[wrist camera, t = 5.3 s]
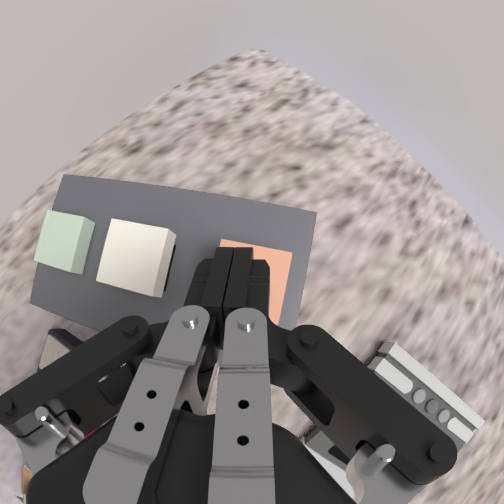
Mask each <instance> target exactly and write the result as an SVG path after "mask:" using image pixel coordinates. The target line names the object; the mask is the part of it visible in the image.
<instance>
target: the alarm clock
mask: <svg viewBox="0 0 504 504" xmlns="http://www.w3.org/2000/svg"><path fill="white" fill-rule="evenodd" d="M378 352H379V353H380V354H379V355H378V357H376V356H375V357H374V359H373V360H372V361H371V363H370V364H369V365H368V368H369V369H370V370H371V371H372V372H373V373H375V374H376V375H377V376H378V377H379V378H380V379H382V380H383V381H384V382H385V383H386V384H388V385H389V386H390V387H391V388H392V389H393V390H395V391H396V392H397V393H398V394H399V395H400V396H402V397H403V398H404V399H405V400H406V401H408V402H409V403H410V404H411V405H412V406H413V407H415V408H416V409H417V410H418V411H419V412H421V413H422V414H423V415H424V416H425V417H426V418H428V419H429V420H430V421H431V422H432V423H434V424H435V425H436V426H437V427H438V428H440V429H441V430H442V431H443V432H444V433H446V434H447V435H448V436H449V437H450V438H451V439H452V440H453V441H454V443H455V445H456V448H457V453H458V452H459V450H460V449H461V448H462V446H463V445H464V444H465V443H467V442H468V441H469V439H470V438H471V436H472V435H473V434H474V432H473V431H474V429H478V430H480V428H481V427H482V425H483V424H484V422H485V421H484V420H483V419H482V418H481V417H480V416H479V415H478V414H476V413H475V412H474V411H473V410H472V409H471V408H470V407H469V406H467V405H466V404H465V403H464V402H463V401H462V400H461V399H460V398H458V397H457V396H456V395H455V394H454V393H453V392H452V391H451V390H449V389H448V388H447V387H446V386H445V385H444V384H443V383H441V382H440V381H439V380H438V379H437V378H436V377H435V376H433V375H432V374H431V373H430V372H429V371H428V370H426V369H425V368H424V367H423V366H422V365H421V364H420V363H418V362H417V361H416V360H415V359H414V358H413V357H411V356H410V355H409V354H408V353H407V352H406V351H404V350H403V349H402V348H401V347H400V346H399V345H397V344H396V343H392V342H384V343H383V344H382V346H381V347H380V348H379V350H378ZM300 441H301V442H302V443H303V444H304V446H305V447H306V448H307V449H308V450H309V451H310V453H311V454H312V455H313V456H314V457H315V458H316V459H317V461H318V462H319V463H320V464H321V465H322V466H323V467H324V468H325V470H326V471H327V472H328V473H329V474H330V475H331V476H332V477H333V478H334V480H335V481H336V482H337V483H338V484H339V485H340V486H341V487H342V488H343V489H344V490H345V491H346V492H347V494H348V495H349V496H350V497H351V498H352V499H353V500H354V498H355V494H354V490H353V488H352V486H351V485H350V484H349V482H348V480H347V478H346V467H347V465H348V463H349V462H350V459H349V458H348V457H347V456H346V455H345V454H344V453H343V452H342V451H341V450H340V449H339V448H338V447H337V446H336V445H335V444H334V443H333V442H332V441H331V440H330V439H329V438H328V437H327V436H326V435H325V434H324V433H323V432H322V431H321V430H320V429H319V428H318V427H317V428H316V429H314V430H313V431H312V432H311V433H310V434H309V435H308V436H307V437H304V436H303V437H302V438H301V439H300ZM425 487H426V486H425ZM425 487H423V488H422V489H421V490H423V489H424V488H425ZM421 490H420V491H421ZM420 491H419V492H420ZM419 492H418V493H419ZM418 493H417V494H418Z"/></svg>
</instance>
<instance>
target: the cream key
mask: <svg viewBox="0 0 504 504" xmlns="http://www.w3.org/2000/svg"><path fill="white" fill-rule="evenodd" d="M175 239H176V234H174V233H173V232H172V231H171V230H169V229H167V228H161V227H156V226H151V225H145V224H140V223H135V222H129V221H124V220H119V219H113V218H112V219H111V223H110V226H109V230H108V233H107V237H106V241H105V245H104V249H103V253H102V257H101V261H100V265H99V269H98V274H97V278H96V281H98V282H102V283H105V284H109V285H112V286H116V287H119V288H123V289H127V290H130V291H134V292H138V293H141V294H145V295H149V296H153V297H160V298H162V294H163V290H164V285H166V286H167V283H168V279H169V274H170V270H171V266H172V261H173V257H174V252H172V251H173V247H174V243H175Z"/></svg>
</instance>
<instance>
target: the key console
mask: <svg viewBox="0 0 504 504" xmlns="http://www.w3.org/2000/svg"><path fill="white" fill-rule="evenodd" d="M52 211H56V212H61V213H67V214H72V215H77V216H82V217H86V218H88V219H89V220H91V221H93V222H95V226H94V230H93V233H92V237H91V241H90V245H89V248H88V252H87V256H86V261H85V265H84V269H83V274H82V275H81V274H76V273H72V272H68V271H65V270H62V269H59V268H56V267H52V266H49V265H46V264H43V263H40V262H38V264H37V269H36V274H35V278H34V283H33V289H32V294H31V300H30V303H31V304H33V305H35V306H38V307H40V308H42V309H45V310H47V311H49V312H52V313H54V314H57V315H59V316H62V317H64V318H67V319H69V320H72V321H74V322H77V323H79V324H82V325H85V326H87V327H90V328H93V329H95V330H98V331H103V330H104V329H106V328H107V327H109V326H111V325H112V324H114V323H115V322H117V321H119V320H120V319H122V318H124V317H127V316H131V315H137V316H141V317H143V318H144V319H146V321H147V322H148V325H151V324H156V323H162V322H166V321H169V320H170V318H171V316H172V315H173V313H174V312H175V311H176V310H178V309H179V308H182V307H183V305H184V302H185V299H186V296H187V293H188V290H189V287H190V284H191V283H192V278H193V276H194V273H195V270H196V267H197V265H198V264H199V263H200V262H201V261H202V260H203V259H204V258H214V254H215V251H216V248H217V247H220V242H221V239H225V240H230V241H235V242H241V243H246V244H251V245H256V246H261V247H266V248H272V249H277V250H282V251H287V252H292V258H291V263H290V269H289V274H288V279H287V284H286V289H285V294H284V299H283V304H282V309H281V314H280V318H279V323H278V325H277V326H279V327H281V328H284V329H287V330H291V331H292V330H293V329H294V328H296V323H297V318H298V314H299V309H300V304H301V299H302V294H303V288H304V283H305V278H306V272H307V267H308V262H309V256H310V250H311V245H312V239H313V233H314V227H315V221H316V215H317V212H313V211H307V210H302V209H297V208H292V207H287V206H281V205H276V204H270V203H265V202H259V201H254V200H248V199H242V198H236V197H230V196H224V195H218V194H212V193H206V192H199V191H193V190H186V189H179V188H172V187H165V186H158V185H151V184H143V183H136V182H128V181H120V180H112V179H103V178H94V177H85V176H75V175H66V174H64V175H63V178H62V181H61V184H60V187H59V189H58V192H57V195H56V199H55V202H54V205H53V208H52ZM112 218H113V219H119V220H124V221H129V222H135V223H140V224H145V225H151V226H156V227H161V228H167V229H169V230H171V231H172V232H173V233H174V234H176V239H175V243H174V247H173V251H172V252H174V257H173V261H172V266H171V270H170V274H169V279H168V283H167V286H166V285H164V290H163V294H162V298H160V297H153V296H149V295H145V294H141V293H138V292H134V291H130V290H127V289H123V288H119V287H116V286H112V285H109V284H105V283H102V282H98V281H96V278H97V274H98V269H99V265H100V261H101V257H102V253H103V249H104V245H105V241H106V237H107V233H108V230H109V226H110V223H111V219H112ZM222 360H223V350H219V356H218V360H217V361H218V366H219V367H222Z"/></svg>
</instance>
